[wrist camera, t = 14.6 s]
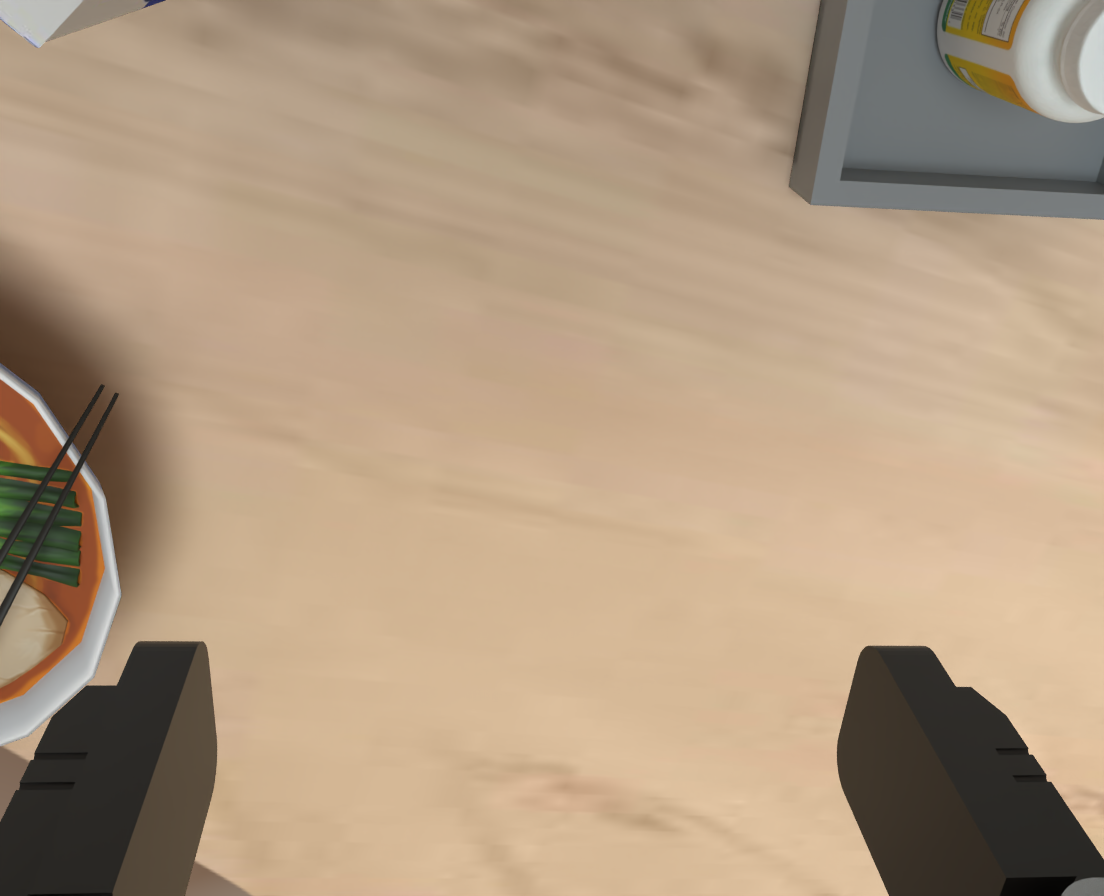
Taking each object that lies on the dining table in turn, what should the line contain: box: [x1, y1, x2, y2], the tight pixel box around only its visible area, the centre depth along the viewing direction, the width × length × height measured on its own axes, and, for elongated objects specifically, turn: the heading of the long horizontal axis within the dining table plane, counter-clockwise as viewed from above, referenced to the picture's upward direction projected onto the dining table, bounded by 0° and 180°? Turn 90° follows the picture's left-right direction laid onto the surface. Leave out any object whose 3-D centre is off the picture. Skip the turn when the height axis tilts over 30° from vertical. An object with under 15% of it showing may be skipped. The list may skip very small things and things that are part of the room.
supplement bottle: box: [937, 0, 1104, 123], centre depth 37 cm, size 5×5×10 cm
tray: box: [789, 0, 1104, 220], centre depth 40 cm, size 14×14×3 cm
